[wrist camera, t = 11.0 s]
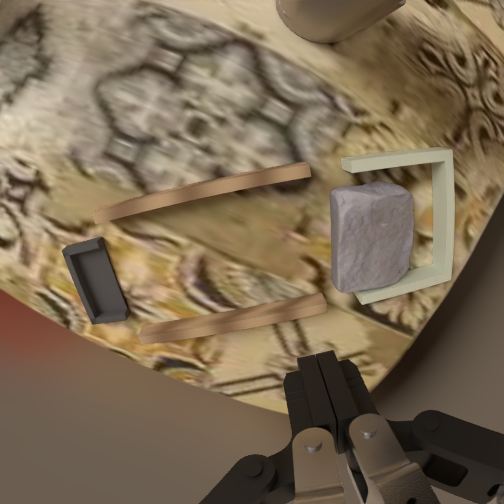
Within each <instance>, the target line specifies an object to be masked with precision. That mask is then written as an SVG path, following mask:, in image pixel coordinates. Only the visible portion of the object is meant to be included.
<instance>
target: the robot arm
mask: <svg viewBox="0 0 504 504" xmlns="http://www.w3.org/2000/svg"><path fill="white" fill-rule="evenodd" d="M405 3H406V0H276V8H277V11H278V13H279V16H280V18H281V19H282V21H283V22H284V24H285V25H286V26H287V27H288V28H289V29H290V30H292V31H293V32H294V33H296V34H297V35H299V36H301V37H303V38H305V39H307V40H310V41H314V42H318V43H336V42H339V41H343V40H345V39H347V38H348V37H350V36H351V35H353V34H354V33H356V32H357V31H358V30H366V29H367V28H369V27H370V26H372V25H373V24H375V23H376V22H378V21H379V20H381V19H382V18H384V17H385V16H387V15H389V14H390V13H392V12H393V11H395V10H397V9H398V8H400V7H401V6H403V5H404V4H405ZM297 363H298V370H299V371H295V372H290V373H287V374H286V377H285V379H284V382H283V385H284V390H285V396H286V401H287V407H288V413H289V418H290V424H291V429H292V438H291V441H290V443H289V444H288V445H287V446H286V448H284V449H283V450H282V451H280V452H278V453H276V454H274V455H272V456H269V457H266V456H263V455H258V454H257V455H256V454H254V455H248V456H245V457H243V458H242V459H240V460H239V461H238V462H237V463H236V464H235V465H234V466H233V467H232V468H231V470H230V471H229V472H228V473H227V474H226V475H225V476H224V477H223V479H222V480H221V481H220V482H219V483H218V484H217V485H216V486H215V487H214V488H213V489H212V490H211V492H210V493H209V494H208V495H207V496H206V497H205V498H204V499H203V500H202V501H201V502H200V503H199V504H286V503H288V502H290V501H292V500H294V499H295V504H346V499H345V494H344V489H343V488H342V485H341V479H340V473H339V467H338V462H337V456H336V453H337V452H338V454H341V453H345V455H346V458H347V469H348V472H349V475H350V477H351V479H352V482H353V485H354V487H355V489H356V492H357V495H358V497H359V500H360V502H361V504H440V502H439V500H438V498H437V496H436V494H435V493H434V491H433V489H432V487H431V485H432V486H434V487H437V488H439V489H442V490H444V491H446V492H449V493H451V494H454V495H456V496H459V497H462V498H464V499H467V500H470V501H472V502H475V503H478V504H504V434H502V433H498V432H495V431H492V430H489V429H486V428H483V427H481V426H478V425H475V424H472V423H469V422H466V421H464V420H461V419H458V418H455V417H453V416H450V415H447V414H445V413H442V412H439V411H436V410H427V411H424V412H421V413H420V414H419V415H417V416H416V417H415V419H414V420H413V421H390V420H387V419H385V418H383V417H382V416H381V415H380V414H379V413H378V412H377V410H376V408H375V406H374V403H373V401H372V399H371V396H370V394H369V392H368V390H367V387H366V385H365V384H364V381H363V379H362V377H361V374H360V372H359V370H358V368H357V366H356V365H355V364H354V363H352V362H351V361H350V360H349V359H346V360H342V361H338V360H337V358H336V355H335V353H334V351H333V350H331V351H327V352H323V353H318V354H316V355H310V356H305V357H301V358H297Z"/></svg>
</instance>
